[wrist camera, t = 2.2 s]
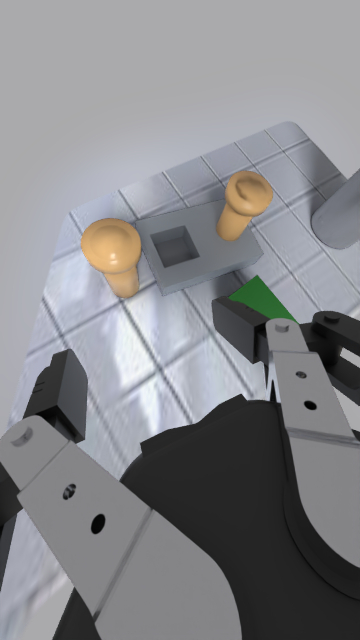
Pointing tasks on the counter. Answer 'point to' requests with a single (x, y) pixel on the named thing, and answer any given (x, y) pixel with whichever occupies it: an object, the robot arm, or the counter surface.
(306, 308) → the counter surface
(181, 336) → the counter surface
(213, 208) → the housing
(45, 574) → the counter surface
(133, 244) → the tan peg
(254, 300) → the clamp
